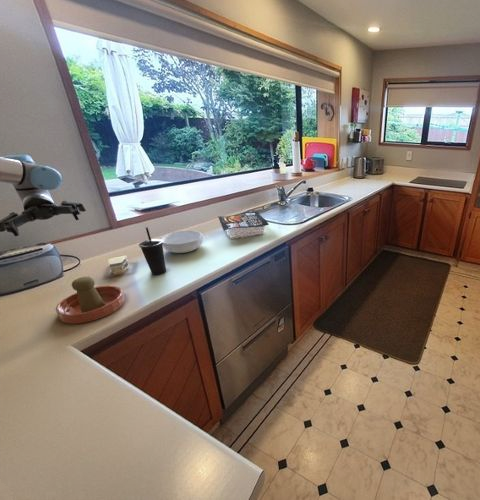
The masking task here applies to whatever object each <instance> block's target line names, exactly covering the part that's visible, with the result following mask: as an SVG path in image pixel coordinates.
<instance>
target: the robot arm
mask: <svg viewBox="0 0 480 500" xmlns="http://www.w3.org/2000/svg"><path fill="white" fill-rule="evenodd" d="M0 183H4V184H10V185H12V186H13V188H14V189H15V191H16V194H17V195H18V197H19V199H20V201H21V202H22V207H23V211H21V212H20V213H17V212H15V211H13V212H10V213H9V214H8V215H7V216H5V217H4V218H1V219H0V233H3V232H7V233H12V234H13V236H14V237H18V236H20V234H19V227H21V226H23V225H25V224H28V223H31V222H35V221H37V220H39V221H45V220H50V219H52V218H53V217H54V216H59V215H72V216H73V217H74V219H75V221H79V220H80V218H79V216H78V215H81V212H82V213H83V212H86V211H87V209H86V207H85V205H84V204H83V203H81V202H72V201H67V200H63V201H61V202H60V204H56V203H55V202H54V199H53V197H52V195H51V193H50V192H49V191H53V190H56V189H59V188H60V186H62V184H63V177H62V175H61V173H60V172H59V171H58V170H56V169H55V168H53V167H51V166H47V165H41V164H36V162H35V161H34V160H33V158H32V156H30V155H29V154H10V155H3V156H0Z"/></svg>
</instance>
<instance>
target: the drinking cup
mask: <svg viewBox="0 0 480 500" xmlns="http://www.w3.org/2000/svg"><path fill="white" fill-rule="evenodd" d="M145 231H146V235H147V238H148V239H146V240H143V241H141V242H139V244H138V246H139V248H140V249H141V251H142V254H143V257H144V259H145V262H146V263H147V266H148V268H149V270H150V273H151V275H153V276H161V275H163V274H165V273H166V272H167V266H166V260H165V253H164V247H163V245H162V243H163V241H162V240H161V239H160V238H152V237H151V234H150V230H149V228H148V226H145Z"/></svg>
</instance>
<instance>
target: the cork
mask: <svg viewBox="0 0 480 500" xmlns="http://www.w3.org/2000/svg"><path fill="white" fill-rule="evenodd" d="M71 287H72V289H73V290H74V291H76V293H77V295H78V299H79V304H80V308H81V312H82V313H84V312H89V311H92V310H95V309H98V308H101V307H103V306H105V303H104V302H103V300H102V298H101V297H100V295H99V294H98V292H97V291H96V289H95V287H96V286H95V279H94V278H93V277H90V276H81V277H79V278H76V279H74V280H73V281H72V282H71Z"/></svg>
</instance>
